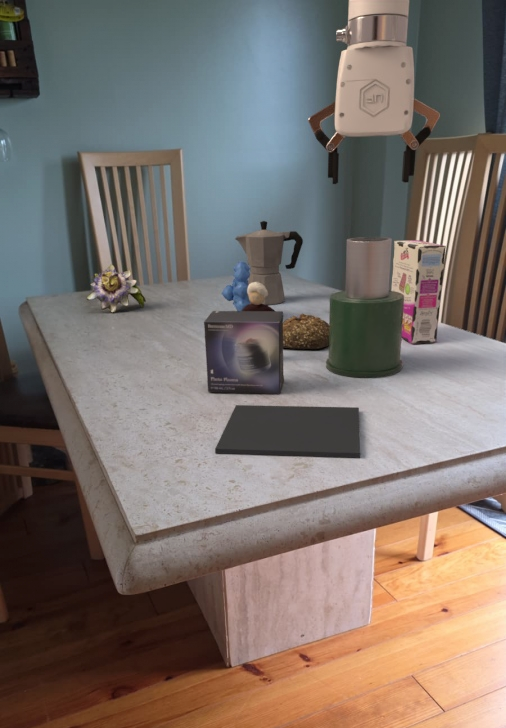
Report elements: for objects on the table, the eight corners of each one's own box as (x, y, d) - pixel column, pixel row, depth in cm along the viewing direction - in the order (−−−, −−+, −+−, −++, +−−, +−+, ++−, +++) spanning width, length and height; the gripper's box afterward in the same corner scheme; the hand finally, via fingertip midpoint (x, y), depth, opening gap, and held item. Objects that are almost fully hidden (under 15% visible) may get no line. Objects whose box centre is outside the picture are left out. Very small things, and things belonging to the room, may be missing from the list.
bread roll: (321, 353, 105) (321, 324, 103) (255, 347, 110) (254, 319, 108) (344, 335, 116) (344, 308, 114) (282, 331, 120) (282, 305, 118)
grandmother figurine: (236, 364, 101) (232, 284, 96) (236, 357, 105) (232, 280, 99) (283, 362, 101) (282, 282, 96) (281, 355, 105) (280, 278, 99)
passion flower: (117, 335, 144) (80, 297, 137) (113, 317, 153) (78, 280, 145) (155, 305, 142) (120, 265, 135) (148, 289, 151) (115, 250, 144)
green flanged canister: (399, 356, 102) (404, 287, 98) (404, 378, 92) (410, 302, 87) (327, 355, 104) (328, 288, 99) (324, 377, 93) (325, 303, 89)
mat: (358, 411, 80) (358, 407, 80) (359, 457, 67) (360, 452, 67) (236, 409, 82) (235, 404, 82) (215, 453, 70) (214, 448, 69)
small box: (206, 394, 88) (201, 320, 84) (215, 379, 94) (210, 310, 90) (280, 395, 87) (279, 320, 82) (284, 380, 92) (284, 310, 88)
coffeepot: (236, 306, 144) (232, 223, 136) (239, 298, 152) (236, 220, 145) (303, 304, 143) (303, 221, 135) (302, 296, 151) (302, 218, 144)
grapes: (223, 316, 134) (220, 258, 130) (254, 314, 134) (253, 257, 130) (222, 328, 124) (218, 266, 119) (255, 327, 124) (253, 265, 119)
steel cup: (387, 291, 96) (390, 236, 92) (389, 299, 90) (393, 241, 87) (345, 291, 97) (346, 237, 93) (345, 299, 91) (346, 241, 87)
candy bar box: (438, 343, 109) (447, 245, 102) (411, 345, 108) (418, 246, 101) (412, 328, 119) (419, 238, 112) (387, 330, 118) (392, 239, 111)
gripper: (307, 36, 78) (306, 185, 85) (450, 28, 75) (436, 182, 82) (311, 46, 84) (309, 183, 91) (442, 39, 82) (430, 180, 89)
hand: (369, 182), depth 87 cm, fingers open, 9 cm apart
